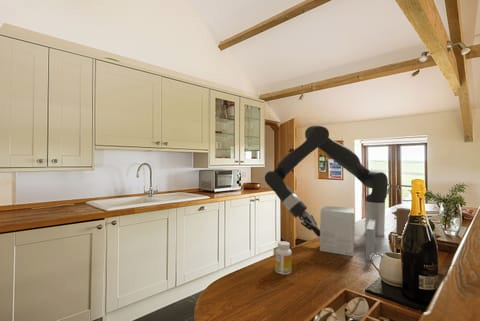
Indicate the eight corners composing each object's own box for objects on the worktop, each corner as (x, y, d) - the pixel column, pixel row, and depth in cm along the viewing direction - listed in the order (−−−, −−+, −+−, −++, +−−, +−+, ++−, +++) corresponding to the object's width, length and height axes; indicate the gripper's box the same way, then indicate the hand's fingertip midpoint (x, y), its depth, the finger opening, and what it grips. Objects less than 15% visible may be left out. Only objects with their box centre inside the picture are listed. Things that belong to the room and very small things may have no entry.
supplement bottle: (292, 269, 88) (292, 241, 88) (290, 276, 83) (290, 246, 83) (276, 267, 90) (277, 239, 90) (273, 273, 85) (274, 244, 85)
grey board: (369, 244, 118) (369, 218, 118) (375, 245, 117) (375, 219, 117) (365, 259, 99) (366, 228, 99) (372, 260, 98) (373, 229, 98)
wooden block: (423, 253, 108) (424, 210, 108) (419, 255, 105) (420, 211, 105) (399, 247, 114) (400, 207, 114) (395, 249, 112) (396, 208, 112)
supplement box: (354, 247, 114) (355, 207, 114) (353, 256, 102) (354, 213, 102) (323, 242, 119) (324, 205, 119) (319, 251, 107) (320, 209, 108)
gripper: (295, 201, 113) (323, 233, 107) (304, 198, 125) (329, 227, 119) (284, 212, 116) (310, 244, 110) (293, 208, 127) (317, 236, 121)
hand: (320, 235), depth 114 cm, fingers closed
